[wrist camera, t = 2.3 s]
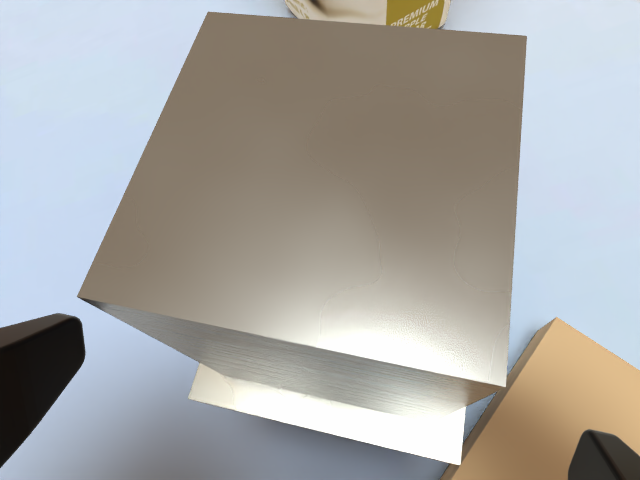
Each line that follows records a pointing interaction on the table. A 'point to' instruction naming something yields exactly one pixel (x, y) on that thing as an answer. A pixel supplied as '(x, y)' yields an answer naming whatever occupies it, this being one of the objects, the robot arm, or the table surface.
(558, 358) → the stand
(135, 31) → the table surface
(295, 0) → the juice carton
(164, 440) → the table surface
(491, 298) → the block
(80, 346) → the robot arm
